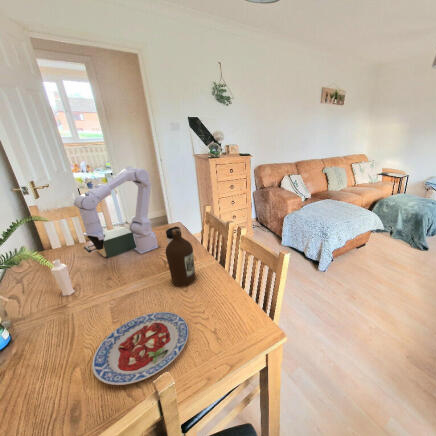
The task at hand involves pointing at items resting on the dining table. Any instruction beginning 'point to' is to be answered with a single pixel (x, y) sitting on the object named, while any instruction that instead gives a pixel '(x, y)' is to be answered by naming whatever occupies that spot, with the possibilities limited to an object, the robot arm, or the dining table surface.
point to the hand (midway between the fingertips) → (100, 249)
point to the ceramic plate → (140, 348)
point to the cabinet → (118, 241)
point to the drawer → (96, 250)
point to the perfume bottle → (62, 277)
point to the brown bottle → (180, 260)
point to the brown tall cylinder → (170, 234)
